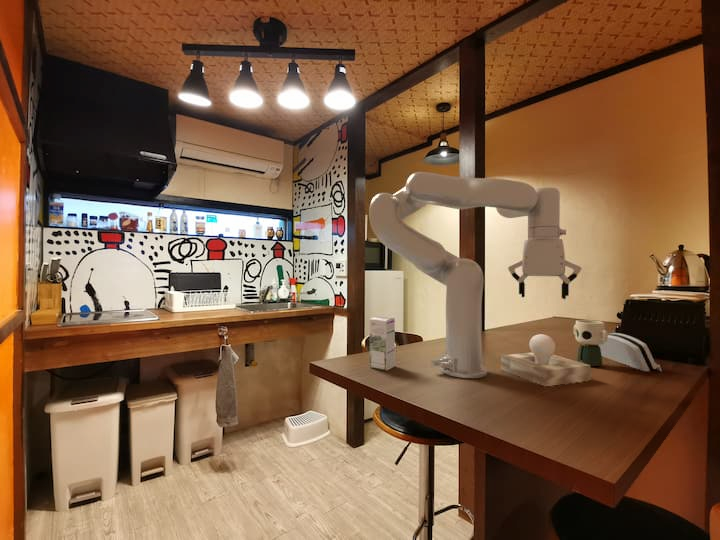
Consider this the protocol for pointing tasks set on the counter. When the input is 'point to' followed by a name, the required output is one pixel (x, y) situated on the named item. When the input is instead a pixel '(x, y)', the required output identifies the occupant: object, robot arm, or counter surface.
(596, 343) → the character mug
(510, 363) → the holder
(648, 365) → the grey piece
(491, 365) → the counter surface
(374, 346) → the syrup box
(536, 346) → the lightbulb
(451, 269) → the robot arm
